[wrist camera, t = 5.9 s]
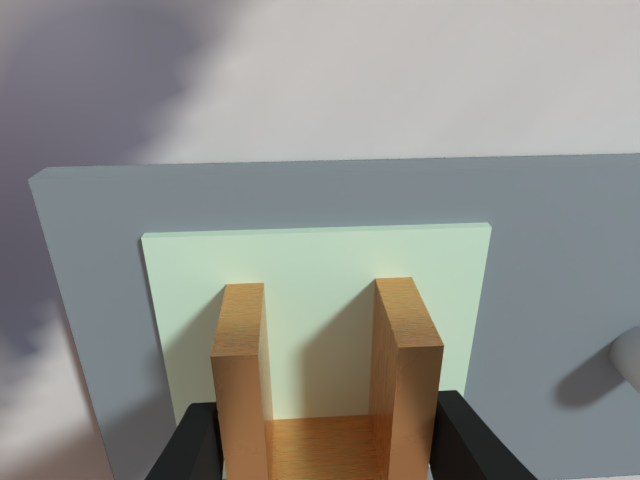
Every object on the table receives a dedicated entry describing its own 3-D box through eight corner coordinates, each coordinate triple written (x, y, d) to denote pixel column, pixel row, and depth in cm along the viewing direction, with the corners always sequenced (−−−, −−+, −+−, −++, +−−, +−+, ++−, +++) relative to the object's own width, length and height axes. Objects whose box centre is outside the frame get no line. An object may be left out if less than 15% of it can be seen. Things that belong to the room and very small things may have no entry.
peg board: (747, 445, 19) (823, 517, 16) (130, 480, 18) (101, 566, 15) (910, 147, 14) (1064, 181, 11) (47, 167, 12) (-21, 211, 10)
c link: (397, 435, 16) (421, 524, 13) (243, 444, 15) (234, 537, 13) (411, 275, 13) (444, 345, 10) (226, 283, 13) (210, 357, 10)
